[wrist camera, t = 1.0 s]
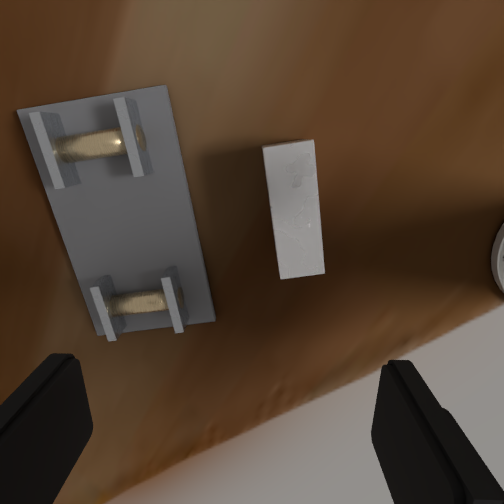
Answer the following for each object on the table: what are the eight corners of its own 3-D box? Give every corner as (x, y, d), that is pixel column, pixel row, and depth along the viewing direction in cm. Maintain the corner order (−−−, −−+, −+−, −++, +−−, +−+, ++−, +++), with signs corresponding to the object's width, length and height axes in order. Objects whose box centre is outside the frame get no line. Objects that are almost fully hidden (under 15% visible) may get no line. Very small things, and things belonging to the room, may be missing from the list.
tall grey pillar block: (303, 139, 27) (313, 139, 22) (314, 252, 30) (324, 273, 25) (261, 145, 27) (262, 147, 22) (276, 257, 30) (280, 279, 26)
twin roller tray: (136, 100, 25) (124, 96, 23) (189, 317, 32) (183, 332, 29) (49, 115, 26) (28, 113, 23) (119, 326, 32) (108, 341, 30)
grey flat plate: (166, 86, 25) (164, 84, 25) (215, 318, 32) (215, 321, 32) (21, 110, 26) (16, 110, 26) (100, 332, 33) (97, 335, 32)
